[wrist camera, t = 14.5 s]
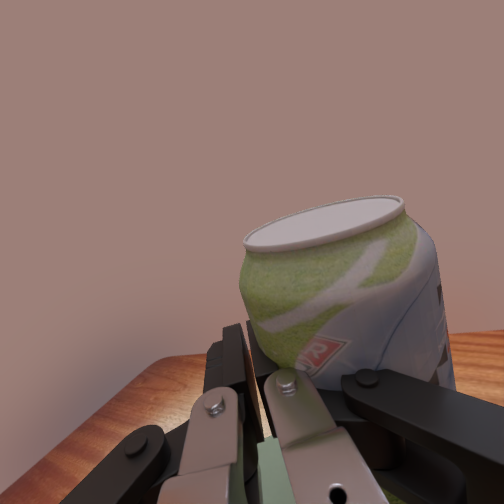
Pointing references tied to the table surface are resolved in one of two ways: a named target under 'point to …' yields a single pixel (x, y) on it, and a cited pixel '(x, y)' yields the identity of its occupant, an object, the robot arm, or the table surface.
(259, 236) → the beverage can
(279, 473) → the green open cubby
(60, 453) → the table surface
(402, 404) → the robot arm
